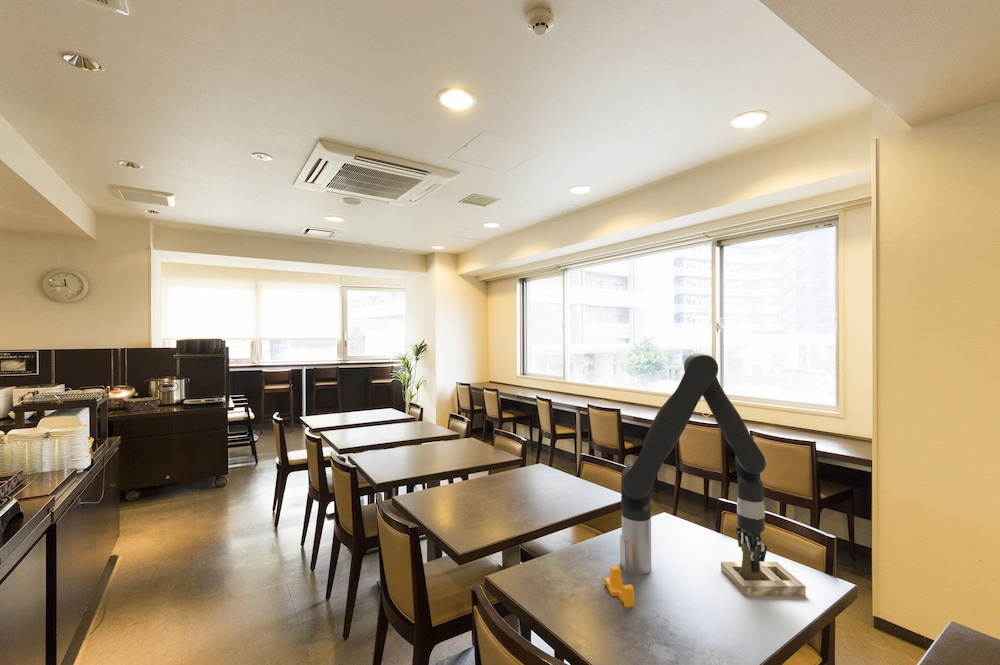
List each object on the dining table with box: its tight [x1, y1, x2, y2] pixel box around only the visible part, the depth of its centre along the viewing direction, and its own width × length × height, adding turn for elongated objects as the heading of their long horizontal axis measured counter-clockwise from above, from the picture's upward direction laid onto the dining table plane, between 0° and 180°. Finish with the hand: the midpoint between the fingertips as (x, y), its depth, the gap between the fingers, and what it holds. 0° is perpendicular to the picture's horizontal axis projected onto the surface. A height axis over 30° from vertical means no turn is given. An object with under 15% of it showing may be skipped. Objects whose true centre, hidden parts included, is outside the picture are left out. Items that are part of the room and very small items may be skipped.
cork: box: [740, 542, 762, 581], centre depth 139 cm, size 6×6×11 cm
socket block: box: [720, 561, 807, 597], centre depth 139 cm, size 18×14×3 cm
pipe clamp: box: [604, 565, 635, 608], centre depth 131 cm, size 12×4×6 cm, turn 6°
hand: (750, 568), depth 139 cm, fingers closed on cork, 4 cm apart
